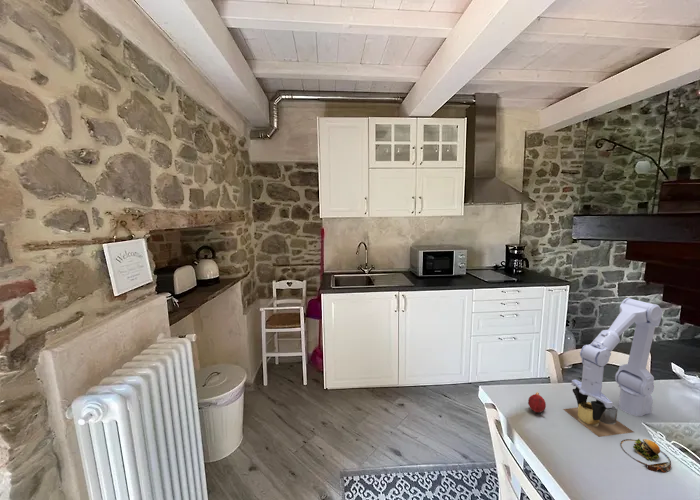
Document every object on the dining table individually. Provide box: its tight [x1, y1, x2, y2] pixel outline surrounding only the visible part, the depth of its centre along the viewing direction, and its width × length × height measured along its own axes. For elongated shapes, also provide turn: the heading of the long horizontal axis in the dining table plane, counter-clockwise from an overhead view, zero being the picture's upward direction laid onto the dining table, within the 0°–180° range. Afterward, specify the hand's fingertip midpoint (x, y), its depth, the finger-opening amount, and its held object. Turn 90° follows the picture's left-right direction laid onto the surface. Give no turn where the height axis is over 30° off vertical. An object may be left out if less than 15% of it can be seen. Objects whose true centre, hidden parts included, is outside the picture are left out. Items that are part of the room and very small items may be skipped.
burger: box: [620, 438, 672, 473], centre depth 99 cm, size 12×12×8 cm
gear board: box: [562, 406, 634, 438], centre depth 115 cm, size 14×15×4 cm
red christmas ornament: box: [527, 391, 547, 414], centre depth 121 cm, size 6×6×8 cm
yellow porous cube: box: [577, 401, 599, 425], centre depth 114 cm, size 5×5×5 cm
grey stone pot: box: [600, 405, 618, 424], centre depth 115 cm, size 5×5×5 cm
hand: (588, 414), depth 114 cm, fingers closed on yellow porous cube, 5 cm apart
